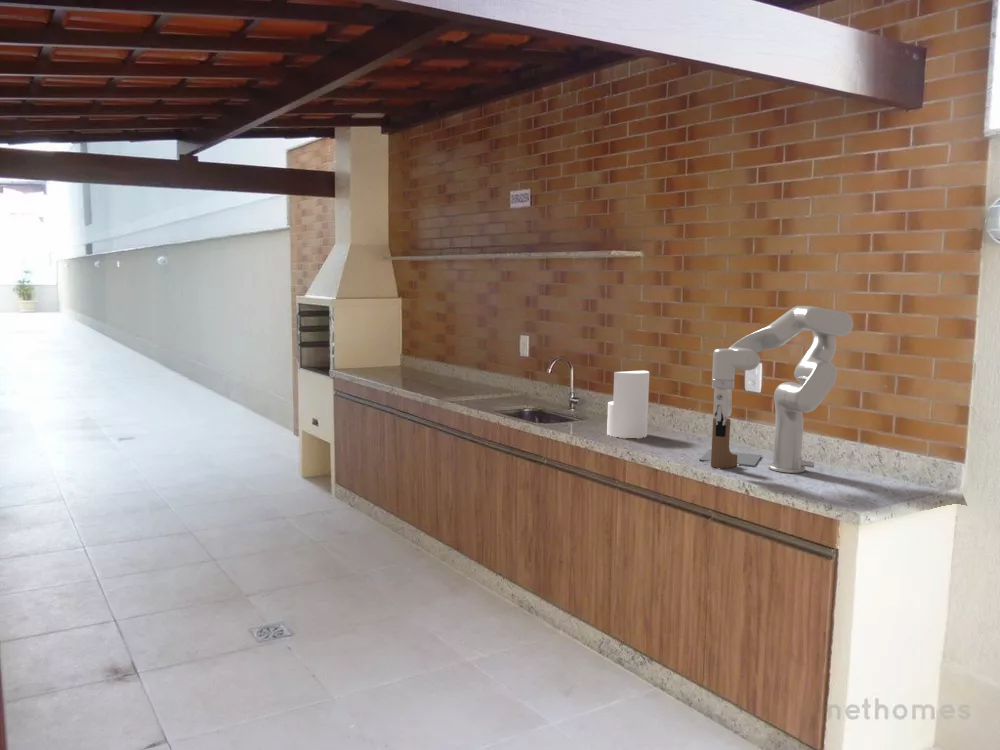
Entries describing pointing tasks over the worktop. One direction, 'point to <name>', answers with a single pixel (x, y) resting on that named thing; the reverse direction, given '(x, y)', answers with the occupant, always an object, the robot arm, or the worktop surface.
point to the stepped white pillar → (629, 405)
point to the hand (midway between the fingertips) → (720, 436)
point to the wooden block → (722, 449)
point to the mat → (741, 458)
